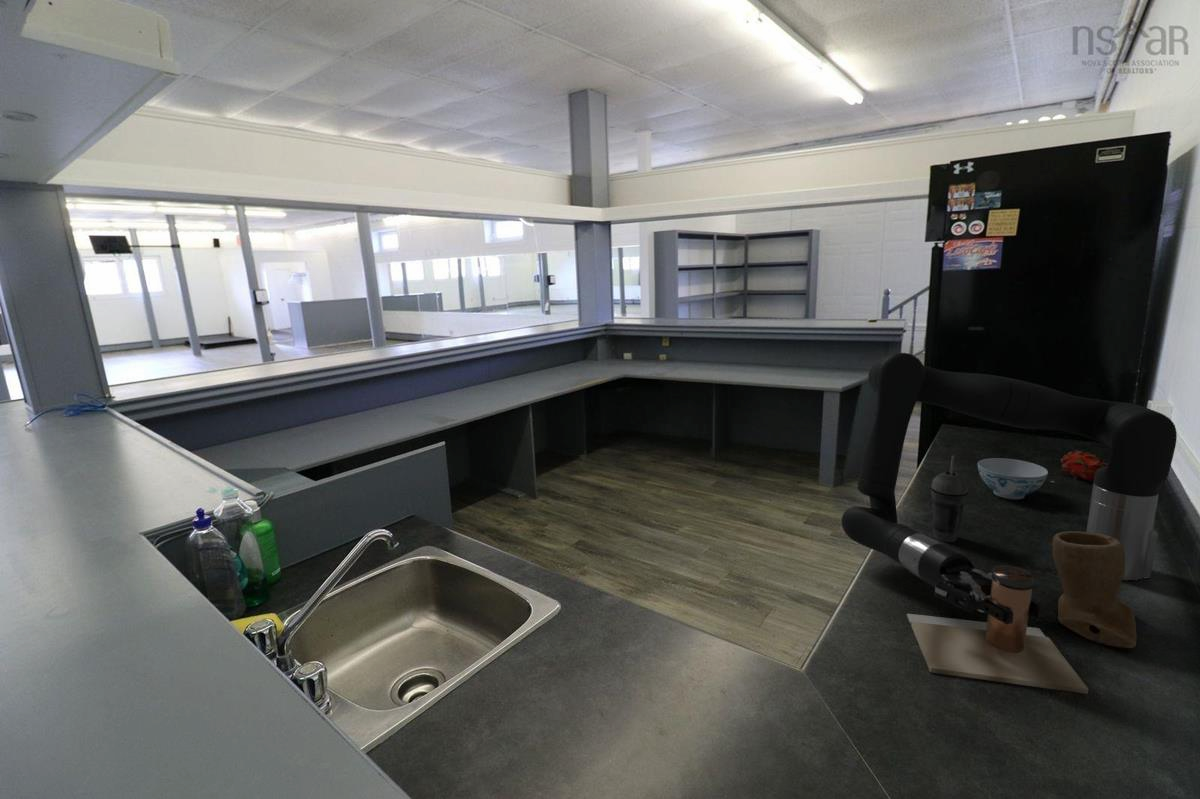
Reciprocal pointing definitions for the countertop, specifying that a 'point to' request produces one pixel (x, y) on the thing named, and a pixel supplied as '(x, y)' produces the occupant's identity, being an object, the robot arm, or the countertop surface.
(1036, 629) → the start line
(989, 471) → the chinaware
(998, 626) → the canister
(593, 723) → the countertop surface
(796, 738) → the countertop surface
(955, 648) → the board
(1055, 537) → the brown hollow flared piece
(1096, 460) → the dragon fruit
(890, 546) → the robot arm
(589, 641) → the countertop surface
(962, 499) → the beverage cup
